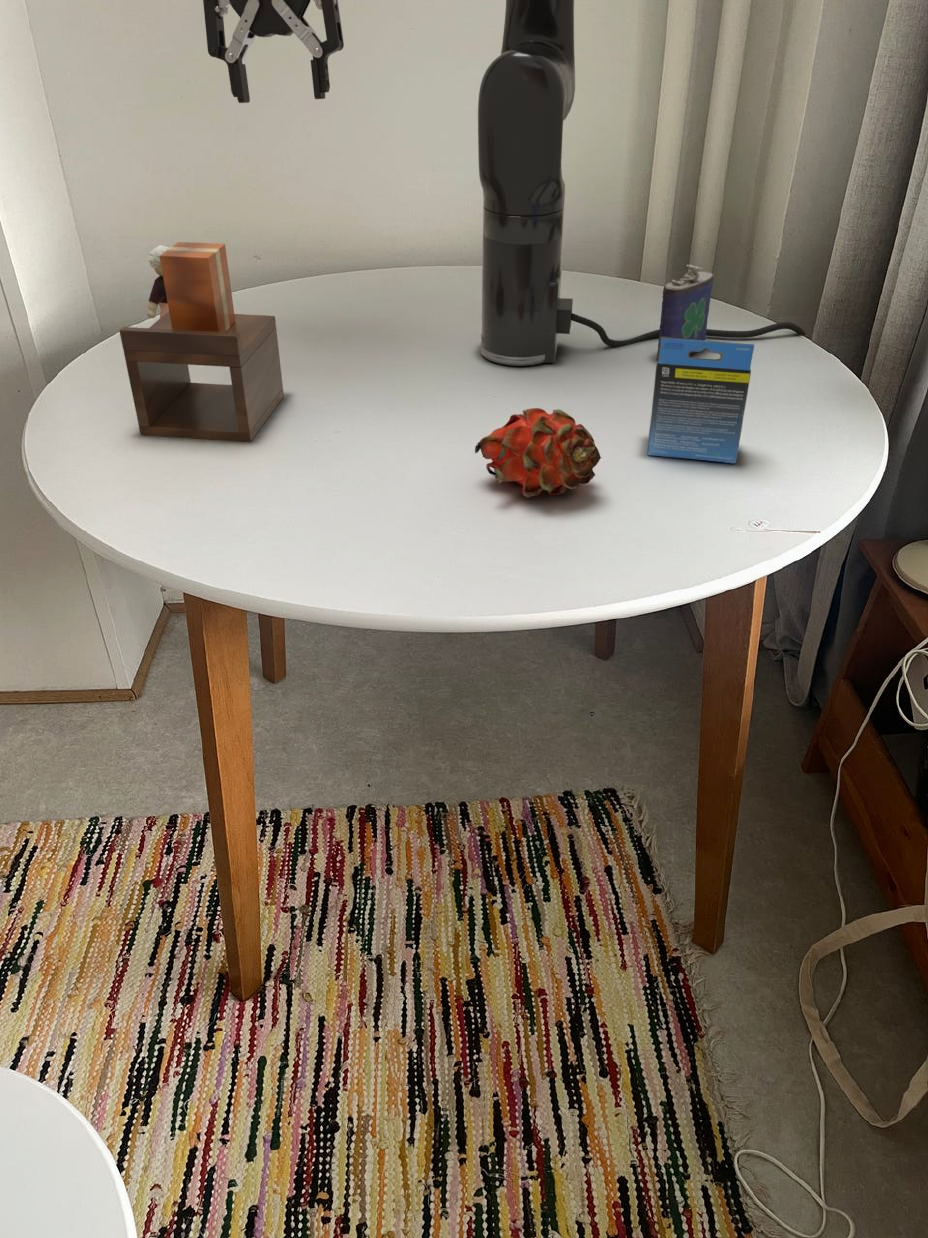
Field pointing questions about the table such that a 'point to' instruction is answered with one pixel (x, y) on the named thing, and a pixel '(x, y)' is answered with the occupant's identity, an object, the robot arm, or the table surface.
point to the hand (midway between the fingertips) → (282, 100)
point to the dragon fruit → (541, 452)
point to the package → (198, 287)
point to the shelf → (204, 407)
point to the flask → (686, 306)
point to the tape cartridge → (699, 400)
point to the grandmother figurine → (157, 285)
